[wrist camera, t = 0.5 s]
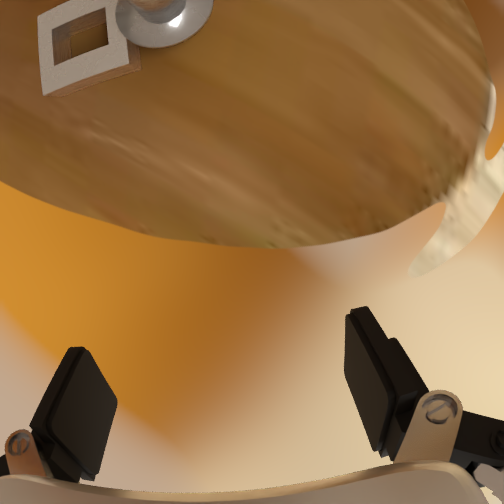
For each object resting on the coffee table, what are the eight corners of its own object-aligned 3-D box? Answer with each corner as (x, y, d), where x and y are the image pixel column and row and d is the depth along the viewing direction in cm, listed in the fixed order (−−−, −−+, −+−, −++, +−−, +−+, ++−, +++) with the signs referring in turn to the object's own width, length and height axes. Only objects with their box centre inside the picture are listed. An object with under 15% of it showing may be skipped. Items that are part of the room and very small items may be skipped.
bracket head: (56, 24, 27) (-43, -11, 8) (210, -23, 27) (194, -121, 8) (63, 96, 31) (-49, 98, 13) (222, 52, 31) (211, -14, 13)
